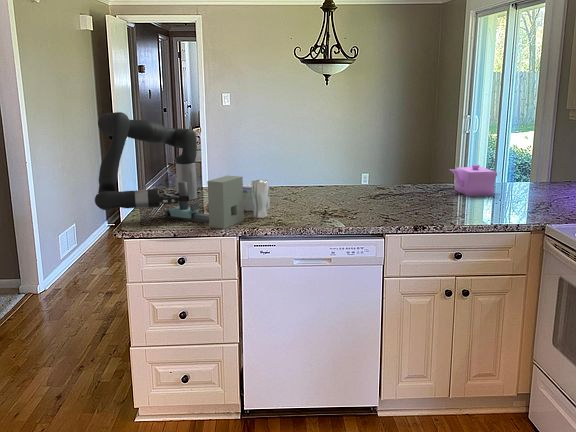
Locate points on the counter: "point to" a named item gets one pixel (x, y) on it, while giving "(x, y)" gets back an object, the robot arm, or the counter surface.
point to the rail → (195, 217)
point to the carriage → (184, 204)
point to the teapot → (474, 180)
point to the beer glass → (259, 198)
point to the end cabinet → (225, 201)
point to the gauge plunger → (207, 208)
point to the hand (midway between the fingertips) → (188, 196)
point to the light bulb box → (248, 198)
